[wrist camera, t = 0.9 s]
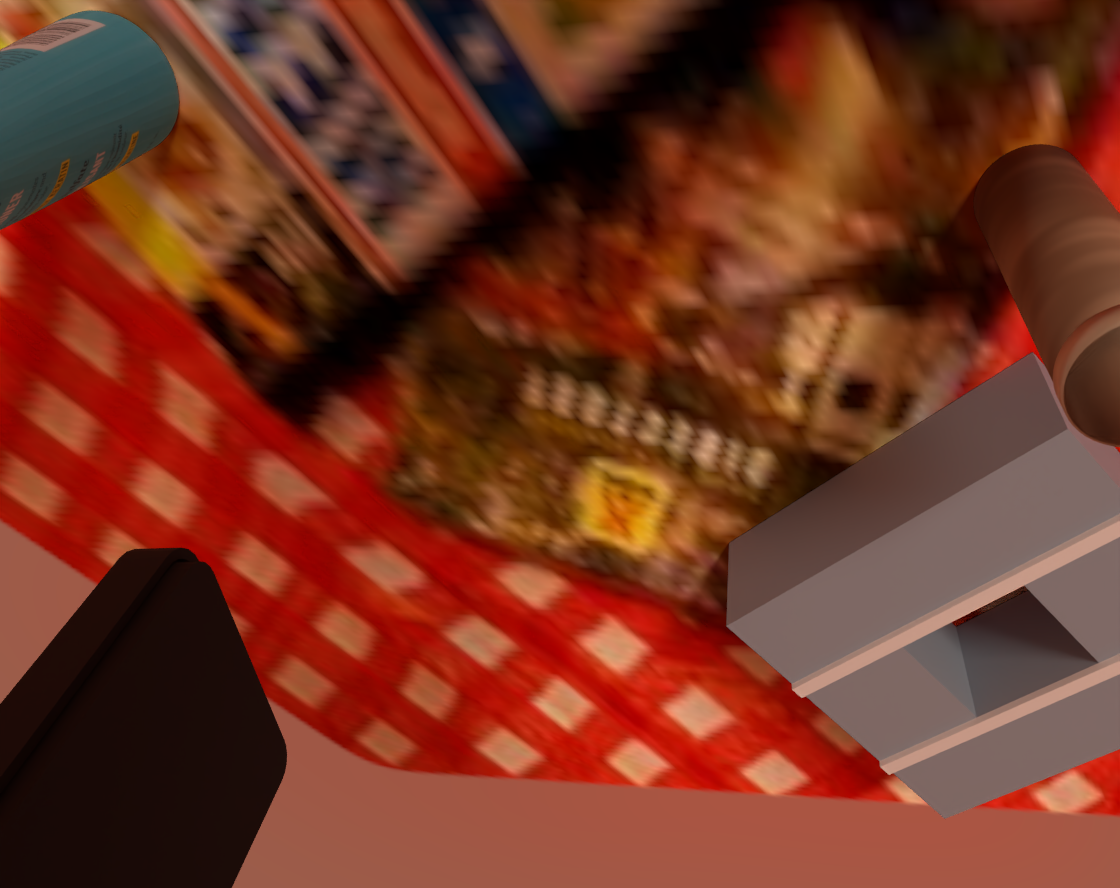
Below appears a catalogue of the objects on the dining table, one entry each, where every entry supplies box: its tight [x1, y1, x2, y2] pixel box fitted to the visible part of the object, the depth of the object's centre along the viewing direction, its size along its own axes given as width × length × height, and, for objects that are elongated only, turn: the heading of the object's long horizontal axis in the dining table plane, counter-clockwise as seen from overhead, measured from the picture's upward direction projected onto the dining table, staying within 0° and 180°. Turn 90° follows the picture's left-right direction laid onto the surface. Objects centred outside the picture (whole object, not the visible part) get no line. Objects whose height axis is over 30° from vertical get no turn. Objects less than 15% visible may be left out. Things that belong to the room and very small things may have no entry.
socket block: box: [726, 352, 1120, 818], centre depth 39 cm, size 14×14×5 cm
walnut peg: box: [974, 144, 1120, 447], centre depth 28 cm, size 4×4×12 cm
